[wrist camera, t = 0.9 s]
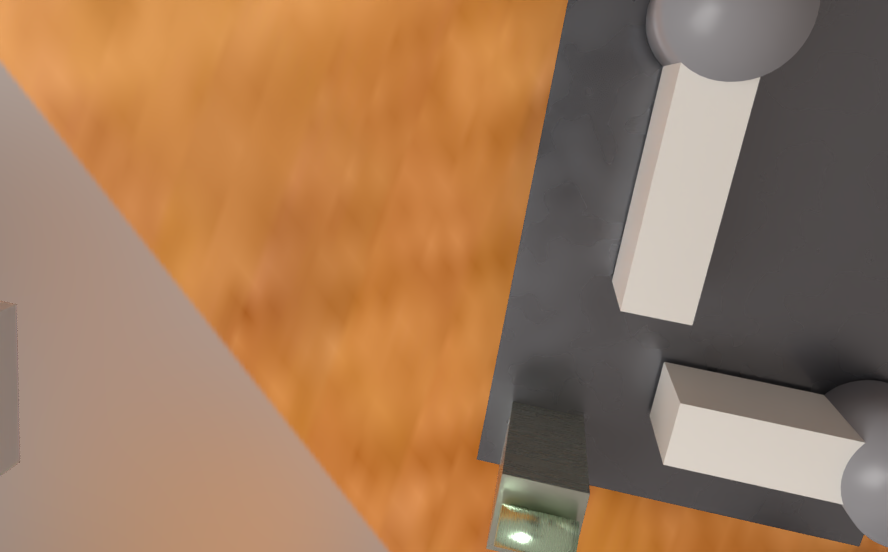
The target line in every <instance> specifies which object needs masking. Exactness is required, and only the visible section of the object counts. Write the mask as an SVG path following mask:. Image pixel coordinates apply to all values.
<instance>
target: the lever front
mask: <svg viewBox="0 0 888 552" xmlns="http://www.w3.org/2000/svg"><path fill="white" fill-rule="evenodd" d="M819 6H820V0H650V1H649V5H648V8H647V14H646V34H647V38H648V42H649V45H650V48H651V50H652V52H653V54H654V56H655V57H656V59H657V60H658V61H659V63H660V64H661V65H662V66H663V69H662V73H661V78H660V82H659V86H658V90H657V94H656V99H655V103H654V107H653V111H652V115H651V120H650V124H649V128H648V132H647V136H646V141H645V145H644V149H643V153H642V157H641V162H640V166H639V170H638V174H637V178H636V183H635V187H634V191H633V195H632V199H631V204H630V208H629V212H628V216H627V220H626V225H625V229H624V233H623V237H622V241H621V246H620V250H619V254H618V258H617V262H616V267H615V271H614V275H613V279H612V283H613V287H614V290H615V294H616V297H617V301H618V304H619V308H620V311H623V312H628V313H633V314H637V315H642V316H647V317H652V318H657V319H662V320H667V321H672V322H677V323H682V324H687V325H693V321H694V317H695V314H696V310H697V306H698V303H699V299H700V296H701V292H702V288H703V285H704V281H705V277H706V274H707V270H708V266H709V263H710V259H711V255H712V252H713V248H714V244H715V241H716V237H717V233H718V230H719V226H720V223H721V219H722V215H723V212H724V208H725V204H726V201H727V197H728V193H729V190H730V186H731V182H732V179H733V175H734V171H735V168H736V164H737V160H738V157H739V153H740V150H741V146H742V142H743V139H744V135H745V131H746V128H747V124H748V120H749V117H750V113H751V109H752V106H753V102H754V98H755V95H756V91H757V87H758V84H759V80H760V77H761V76H764V75H766V74H768V73H770V72H772V71H774V70H776V69H777V68H779V67H781V66H782V65H783V64H785V63H786V62H787V61H788V60H790V59H791V58H792V57H793V56H794V55H795V54H796V53H797V52H798V50H799V49H800V48H801V47H802V46H803V44H804V43H805V41H806V40H807V38H808V37H809V35H810V33H811V31H812V29H813V27H814V24H815V21H816V19H817V16H818V11H819Z"/></svg>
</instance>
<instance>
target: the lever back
mask: <svg viewBox="0 0 888 552" xmlns="http://www.w3.org/2000/svg"><path fill="white" fill-rule="evenodd" d="M650 419H651V423H652V426H653V430H654V434H655V437H656V441H657V444H658V448H659V451H660V455H661V458H662V462H663V465H667V466H672V467H676V468H681V469H685V470H690V471H694V472H699V473H703V474H708V475H712V476H717V477H721V478H726V479H730V480H735V481H739V482H743V483H748V484H752V485H757V486H761V487H766V488H770V489H775V490H779V491H784V492H788V493H793V494H797V495H802V496H806V497H811V498H815V499H820V500H824V501H829V502H833V503H838V504H841V505H842V506H843V508H844V509H845V511H846V512H847V514H848V515H849V517H850V518H851V520H852V521H853V522H854V524H855V525H856V526H857V528H858V529H859V530H860V531H861V532H862V533H863V534H864V535H866V536H867V537H868V538H870V539H871V540H873V541H875V542H877V543H879V544H881V545H883V546H886V547H888V383H885V382H882V381H875V380H861V381H854V382H849V383H846V384H843V385H840V386H838V387H836V388H834V389H832V390H830V391H829V392H827V393H826V394H825V395H822V394H817V393H812V392H807V391H803V390H798V389H793V388H788V387H783V386H779V385H774V384H769V383H764V382H759V381H755V380H750V379H745V378H740V377H735V376H731V375H726V374H721V373H716V372H711V371H707V370H702V369H697V368H692V367H687V366H682V365H678V364H673V363H668V362H664V364H663V368H662V371H661V375H660V379H659V383H658V386H657V390H656V394H655V398H654V401H653V405H652V409H651V413H650Z"/></svg>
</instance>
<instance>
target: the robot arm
mask: <svg viewBox="0 0 888 552" xmlns="http://www.w3.org/2000/svg"><path fill="white" fill-rule="evenodd" d="M19 439H20V437H19V389H18V340H17V305H16V304H13V303H8V302H3V301H0V476H1V475H3V474H4V473H5V472H7V471H8V470H10V469H11V468H12V467H14V466H15V465H17V464H18V463H20V440H19Z"/></svg>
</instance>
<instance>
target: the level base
mask: <svg viewBox="0 0 888 552" xmlns="http://www.w3.org/2000/svg"><path fill="white" fill-rule="evenodd" d="M649 1H650V0H568V4H567V9H566V14H565V19H564V24H563V29H562V34H561V39H560V44H559V49H558V55H557V60H556V65H555V70H554V75H553V80H552V85H551V90H550V95H549V100H548V105H547V110H546V115H545V120H544V125H543V130H542V135H541V140H540V145H539V150H538V155H537V160H536V165H535V170H534V175H533V180H532V185H531V190H530V195H529V200H528V205H527V210H526V215H525V220H524V225H523V230H522V235H521V240H520V245H519V250H518V255H517V260H516V265H515V270H514V275H513V280H512V285H511V290H510V295H509V300H508V305H507V310H506V315H505V320H504V325H503V330H502V336H501V341H500V346H499V351H498V356H497V361H496V366H495V371H494V376H493V381H492V386H491V391H490V396H489V401H488V406H487V411H486V416H485V421H484V426H483V431H482V436H481V441H480V446H479V451H478V456H477V459H478V460H482V461H486V462H491V463H495V464H500V465H499V471H498V478H497V484H496V490H495V497H494V503H493V509H492V516H491V522H490V528H489V535H488V541H487V549H491V550H495V551H499V552H576V550H577V545H578V539H579V535H580V531H581V527H582V523H583V519H584V515H585V511H586V507H587V503H588V499H589V495H590V491H589V485H592V486H596V487H601V488H605V489H609V490H614V491H618V492H622V493H627V494H631V495H636V496H640V497H644V498H649V499H653V500H658V501H662V502H666V503H671V504H675V505H680V506H684V507H688V508H693V509H697V510H701V511H706V512H710V513H715V514H719V515H723V516H728V517H732V518H737V519H741V520H745V521H750V522H754V523H759V524H763V525H767V526H772V527H776V528H781V529H785V530H789V531H794V532H798V533H802V534H807V535H811V536H816V537H820V538H824V539H829V540H833V541H838V542H842V543H846V544H851V545H855V546H860V543H861V540H862V538H863V535H864V534H863V533H862V532H861V531H860V530H859V529H858V528H857V526H856V525H855V524H854V522H853V521H852V520H851V518H850V517H849V515H848V514H847V512H846V511H845V509H844V508H843V506H842V505H841V504H838V503H833V502H829V501H824V500H820V499H815V498H811V497H806V496H802V495H797V494H793V493H788V492H784V491H779V490H775V489H770V488H766V487H761V486H757V485H752V484H748V483H743V482H739V481H735V480H730V479H726V478H721V477H717V476H712V475H708V474H703V473H699V472H694V471H690V470H685V469H681V468H676V467H672V466H667V465H663V462H662V458H661V455H660V451H659V448H658V444H657V441H656V437H655V434H654V430H653V426H652V423H651V419H650V413H651V409H652V405H653V401H654V398H655V394H656V390H657V386H658V383H659V379H660V375H661V371H662V368H663V364H664V362H668V363H673V364H678V365H682V366H687V367H692V368H697V369H702V370H707V371H711V372H716V373H721V374H726V375H731V376H735V377H740V378H745V379H750V380H755V381H759V382H764V383H769V384H774V385H779V386H783V387H788V388H793V389H798V390H803V391H807V392H812V393H817V394H822V395H825V394H826V393H827V392H829V391H830V390H832V389H834V388H836V387H838V386H840V385H843V384H846V383H849V382H854V381H861V380H875V381H882V382H885V383H888V0H820V6H819V11H818V16H817V19H816V21H815V24H814V27H813V29H812V31H811V33H810V35H809V37H808V38H807V40H806V41H805V43H804V44H803V46H802V47H801V48H800V49H799V50H798V52H797V53H796V54H795V55H794V56H793V57H792V58H791V59H790V60H788V61H787V62H786V63H785V64H783V65H782V66H781V67H779V68H777V69H776V70H774V71H772V72H770V73H768V74H766V75H764V76H761V77H760V80H759V84H758V87H757V91H756V95H755V98H754V102H753V106H752V109H751V113H750V117H749V120H748V124H747V128H746V131H745V135H744V139H743V142H742V146H741V150H740V153H739V157H738V160H737V164H736V168H735V171H734V175H733V179H732V182H731V186H730V190H729V193H728V197H727V201H726V204H725V208H724V212H723V215H722V219H721V223H720V226H719V230H718V233H717V237H716V241H715V244H714V248H713V252H712V255H711V259H710V263H709V266H708V270H707V274H706V277H705V281H704V285H703V288H702V292H701V296H700V299H699V303H698V306H697V310H696V314H695V317H694V321H693V325H687V324H682V323H677V322H672V321H667V320H662V319H657V318H652V317H647V316H642V315H637V314H633V313H628V312H623V311H620V308H619V304H618V301H617V297H616V294H615V290H614V287H613V283H612V279H613V275H614V271H615V267H616V262H617V258H618V254H619V250H620V246H621V241H622V237H623V233H624V229H625V225H626V220H627V216H628V212H629V208H630V204H631V199H632V195H633V191H634V187H635V183H636V178H637V174H638V170H639V166H640V162H641V157H642V153H643V149H644V145H645V141H646V136H647V132H648V128H649V124H650V120H651V115H652V111H653V107H654V103H655V99H656V94H657V90H658V86H659V82H660V78H661V73H662V69H663V66H662V65H661V64H660V63H659V61H658V60H657V59H656V57H655V56H654V54H653V52H652V50H651V48H650V45H649V42H648V38H647V34H646V14H647V8H648V5H649Z"/></svg>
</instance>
